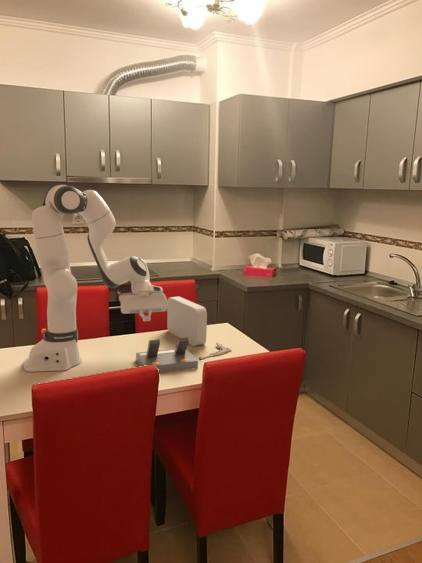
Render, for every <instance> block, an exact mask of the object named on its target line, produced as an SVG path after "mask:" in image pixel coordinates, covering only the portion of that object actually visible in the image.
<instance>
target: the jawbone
mask: <svg viewBox="0 0 422 563" xmlns="http://www.w3.org/2000/svg"><path fill="white" fill-rule="evenodd" d="M215 345H217V347H218V348H219V350H218V351H216V352H211V353H209V355H206V356H205V355H204V356H199V357H198V359H199V360H200V359H201V360H205V359H209V358H215V357H221V356H223V355H226V354H229V353H230V352H232V349H231V348H229V347H226V346H223V344H222V343H221V344H220V343H219V342H216V343H215Z"/></svg>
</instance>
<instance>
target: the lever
mask: <svg viewBox="0 0 422 563" xmlns="http://www.w3.org/2000/svg"><path fill="white" fill-rule="evenodd" d="M177 338H178V339H177V343H176V346H175V348H174V349H175V351H174V355H179V354H185V352H186V349H188V345H189V343H188V342H189V340H188V338H179V337H177Z"/></svg>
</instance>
